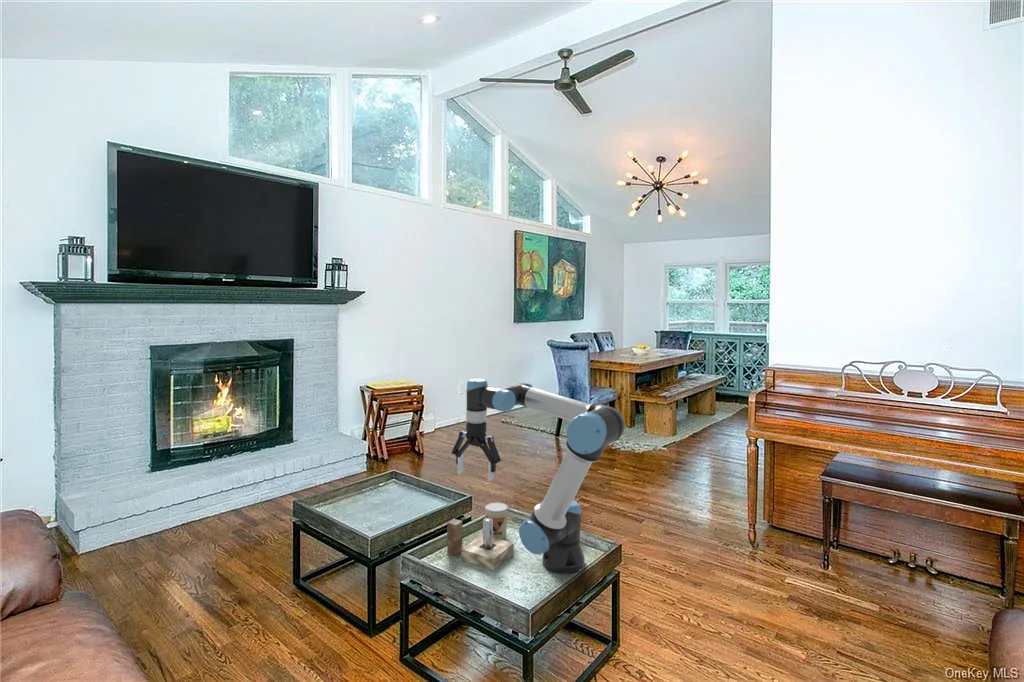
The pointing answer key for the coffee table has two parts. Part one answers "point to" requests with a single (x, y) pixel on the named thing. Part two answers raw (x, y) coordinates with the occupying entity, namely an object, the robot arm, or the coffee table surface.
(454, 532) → the square peg
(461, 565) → the coffee table surface
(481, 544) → the bore block
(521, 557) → the coffee table surface
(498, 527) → the coffee cup
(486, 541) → the round peg
